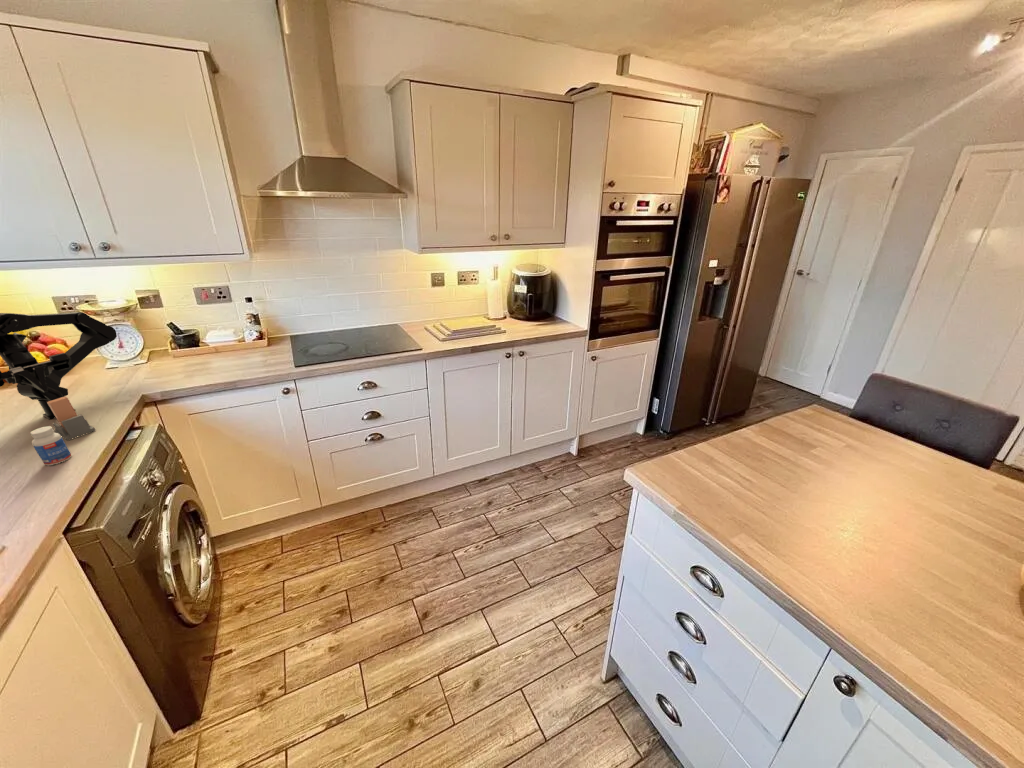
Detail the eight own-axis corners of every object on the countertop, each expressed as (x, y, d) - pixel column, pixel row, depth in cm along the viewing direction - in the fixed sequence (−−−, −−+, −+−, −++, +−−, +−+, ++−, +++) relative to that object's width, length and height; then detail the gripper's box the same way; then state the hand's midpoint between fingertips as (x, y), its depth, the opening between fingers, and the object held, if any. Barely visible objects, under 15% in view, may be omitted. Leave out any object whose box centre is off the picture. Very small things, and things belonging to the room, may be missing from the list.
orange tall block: (63, 430, 125) (46, 401, 121) (80, 424, 128) (64, 396, 124) (66, 432, 124) (49, 403, 120) (83, 426, 127) (67, 397, 123)
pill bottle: (54, 467, 110) (35, 436, 106) (39, 465, 111) (19, 434, 107) (77, 455, 115) (60, 425, 111) (63, 453, 116) (45, 424, 112)
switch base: (55, 433, 126) (45, 416, 124) (82, 423, 131) (73, 407, 129) (68, 440, 122) (58, 423, 119) (95, 430, 127) (86, 413, 124)
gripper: (57, 356, 137) (86, 392, 137) (-28, 377, 122) (5, 417, 122) (54, 337, 130) (85, 374, 130) (-36, 356, 115) (-1, 399, 115)
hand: (46, 391), depth 124 cm, fingers closed
